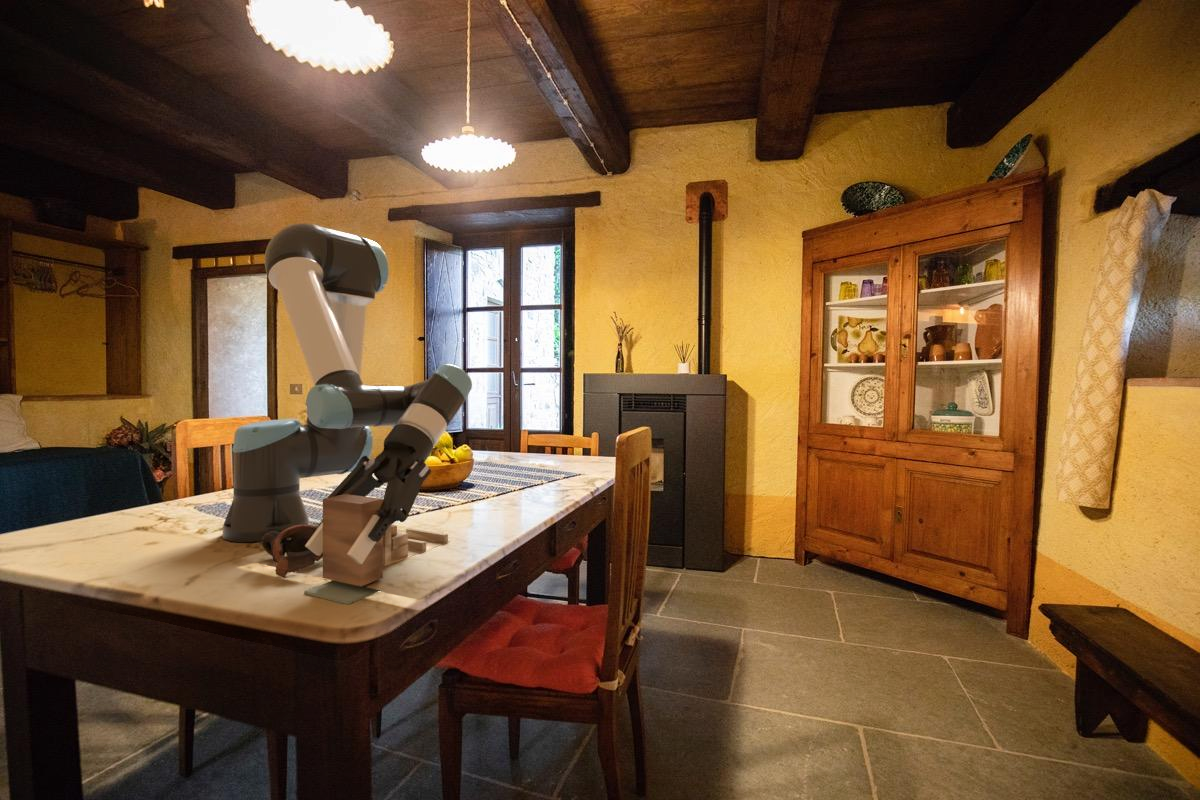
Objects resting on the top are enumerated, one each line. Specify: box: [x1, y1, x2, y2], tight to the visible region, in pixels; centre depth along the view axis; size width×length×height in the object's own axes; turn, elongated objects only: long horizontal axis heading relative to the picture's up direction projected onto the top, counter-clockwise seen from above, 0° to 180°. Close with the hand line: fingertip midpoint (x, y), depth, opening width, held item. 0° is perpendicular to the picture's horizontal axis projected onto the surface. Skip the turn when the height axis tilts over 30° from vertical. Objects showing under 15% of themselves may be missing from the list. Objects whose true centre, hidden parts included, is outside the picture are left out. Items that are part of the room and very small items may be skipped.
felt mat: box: [304, 580, 381, 605], centre depth 79 cm, size 9×9×1 cm
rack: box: [383, 524, 452, 567], centre depth 95 cm, size 16×10×9 cm, turn 156°
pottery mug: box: [260, 524, 323, 579], centre depth 87 cm, size 12×10×8 cm
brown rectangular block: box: [322, 494, 384, 587], centre depth 79 cm, size 4×8×12 cm, turn 66°
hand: (333, 554), depth 76 cm, fingers closed on brown rectangular block, 8 cm apart
